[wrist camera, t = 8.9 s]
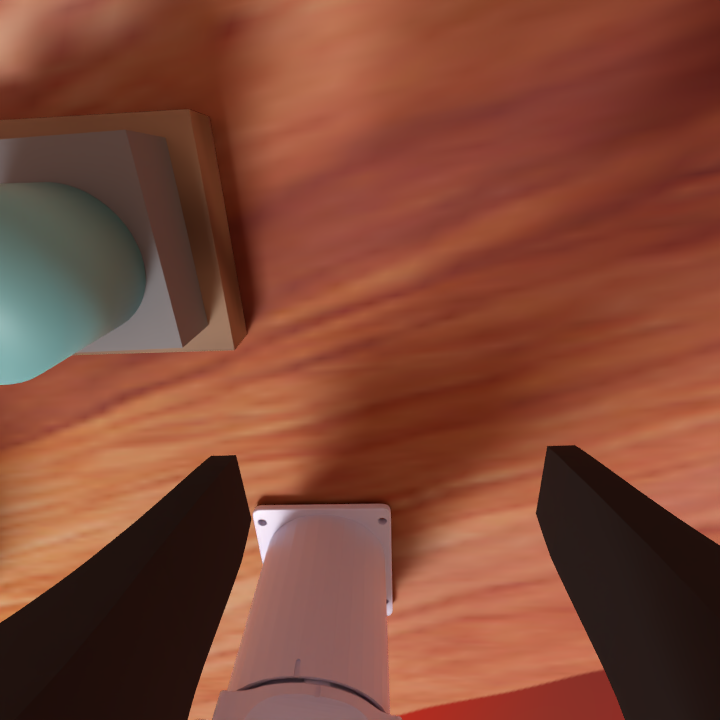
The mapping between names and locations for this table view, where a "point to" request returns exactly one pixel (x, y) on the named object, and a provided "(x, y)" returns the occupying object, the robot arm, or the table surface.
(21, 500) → the table surface
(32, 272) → the teal domed cylinder
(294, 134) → the table surface
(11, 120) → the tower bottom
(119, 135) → the tower top
